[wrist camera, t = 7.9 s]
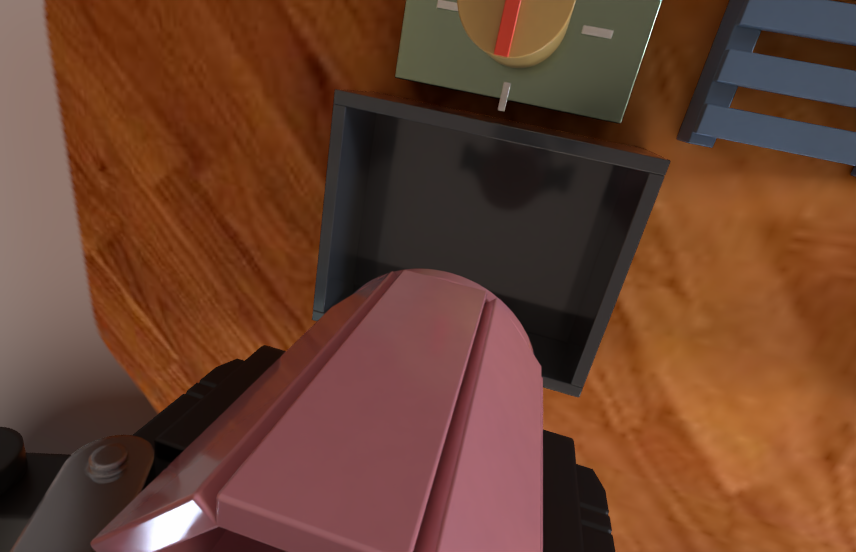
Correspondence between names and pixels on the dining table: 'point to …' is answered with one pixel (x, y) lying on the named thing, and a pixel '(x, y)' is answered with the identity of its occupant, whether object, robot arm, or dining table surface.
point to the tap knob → (516, 28)
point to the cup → (367, 438)
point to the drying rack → (774, 79)
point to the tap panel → (546, 81)
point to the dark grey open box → (486, 216)
